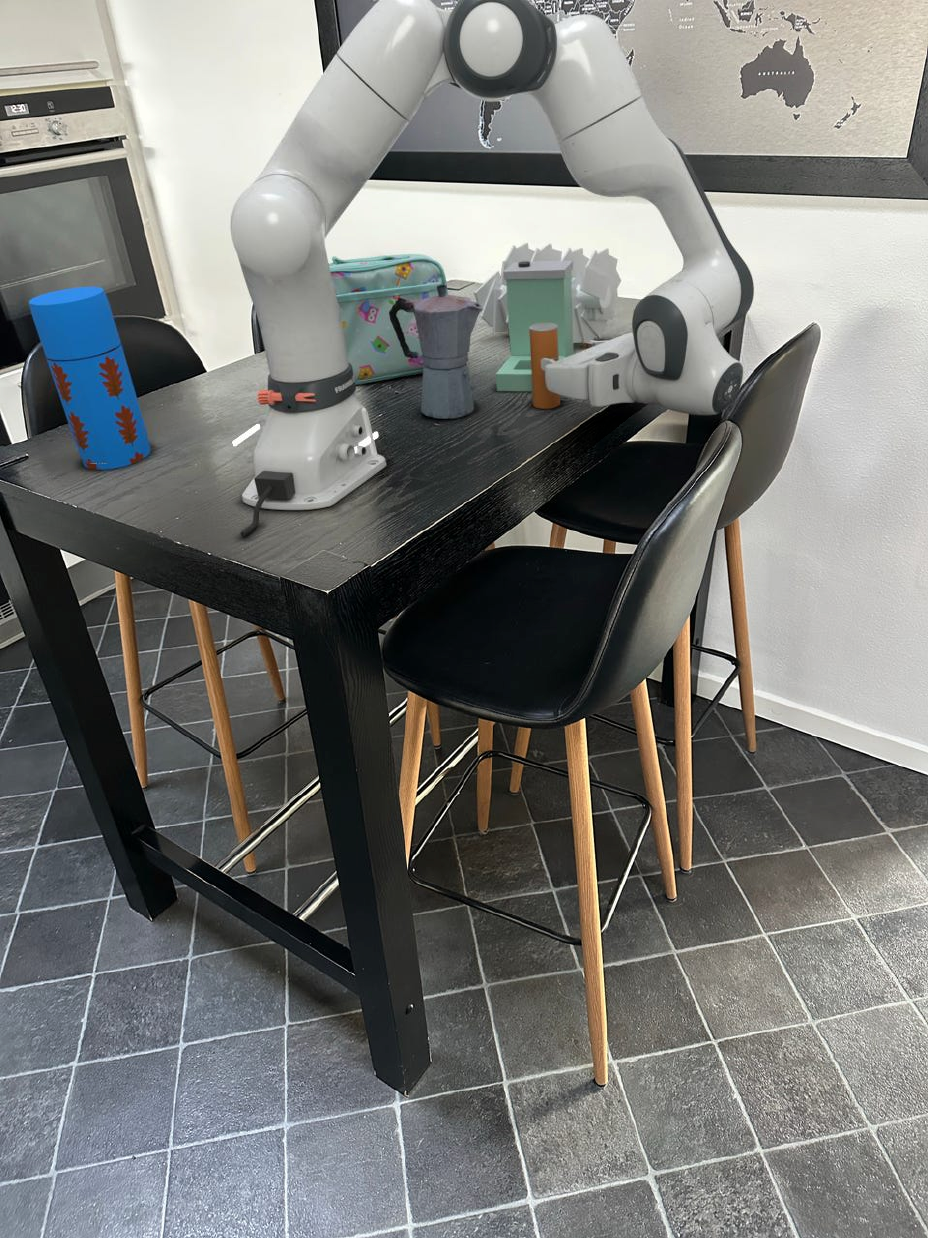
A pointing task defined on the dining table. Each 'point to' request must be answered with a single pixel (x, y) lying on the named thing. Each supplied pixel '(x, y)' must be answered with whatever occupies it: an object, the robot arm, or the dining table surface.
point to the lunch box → (382, 311)
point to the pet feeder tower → (539, 302)
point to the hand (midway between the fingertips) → (565, 354)
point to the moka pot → (442, 350)
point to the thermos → (91, 376)
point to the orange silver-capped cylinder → (540, 347)
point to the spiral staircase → (589, 289)
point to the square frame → (516, 374)
